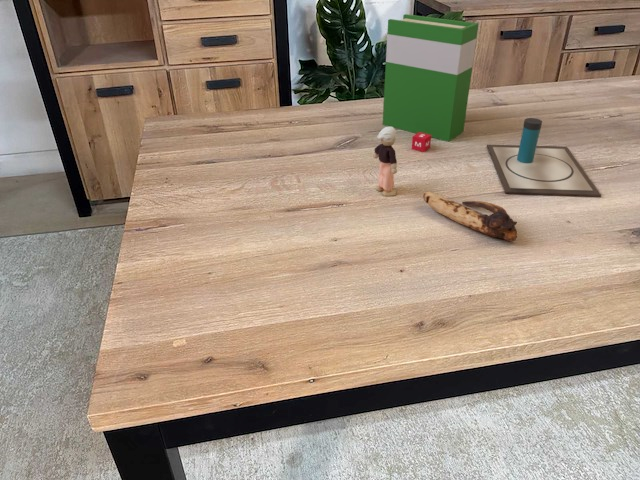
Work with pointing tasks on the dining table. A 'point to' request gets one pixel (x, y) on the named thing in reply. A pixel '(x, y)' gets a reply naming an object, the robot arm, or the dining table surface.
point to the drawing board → (541, 172)
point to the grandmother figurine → (386, 161)
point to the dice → (421, 142)
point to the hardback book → (428, 75)
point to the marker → (529, 140)
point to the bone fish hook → (475, 216)
